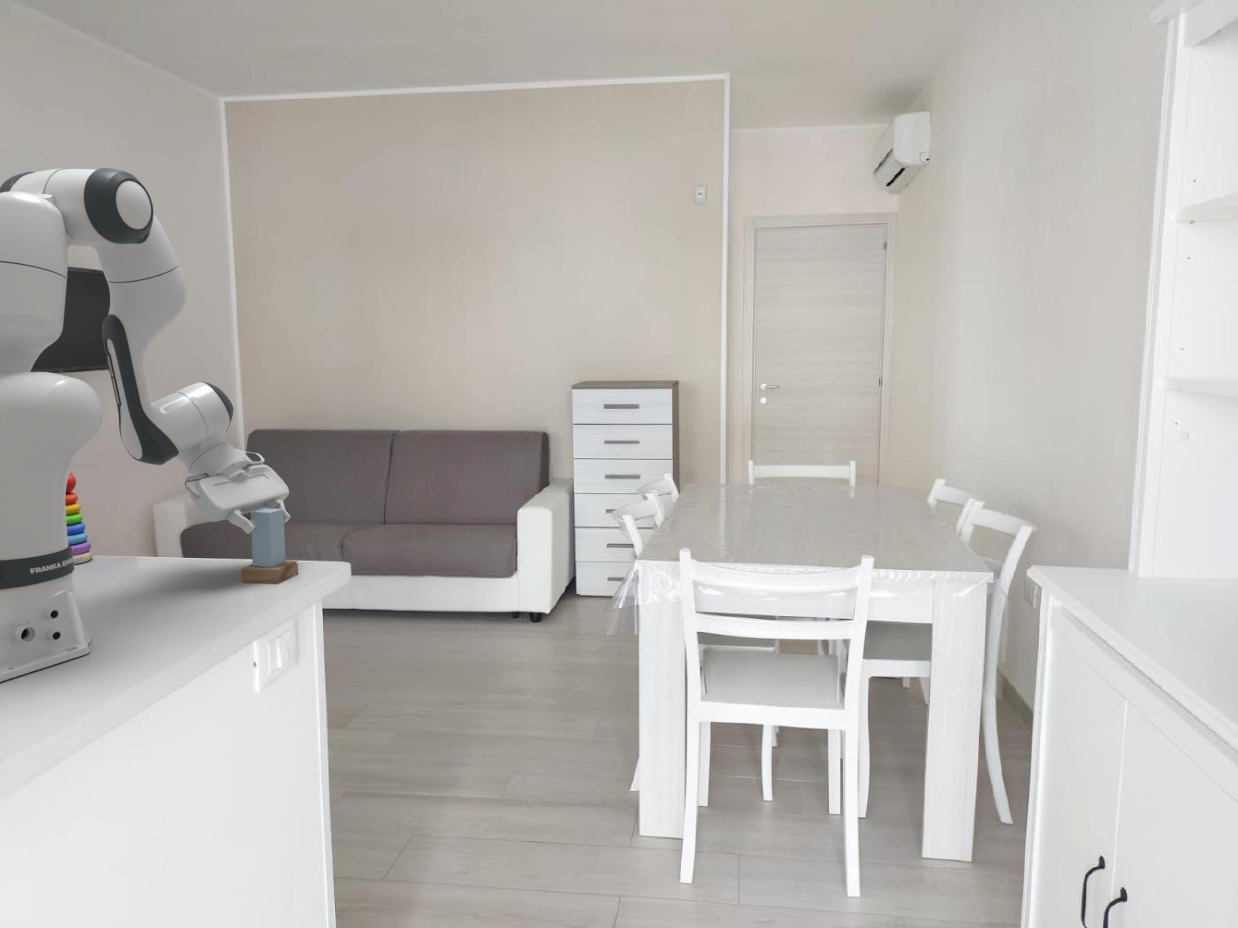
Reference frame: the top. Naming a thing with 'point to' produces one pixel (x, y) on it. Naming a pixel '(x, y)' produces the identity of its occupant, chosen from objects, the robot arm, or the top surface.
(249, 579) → the base block
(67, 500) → the stacking toy
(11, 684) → the top surface
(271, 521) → the pillar
